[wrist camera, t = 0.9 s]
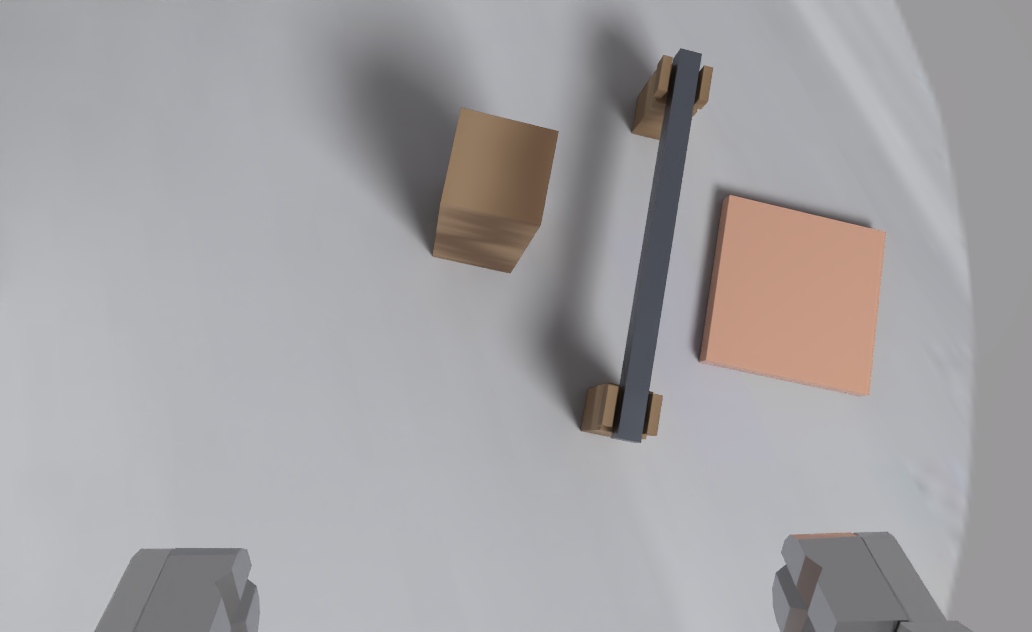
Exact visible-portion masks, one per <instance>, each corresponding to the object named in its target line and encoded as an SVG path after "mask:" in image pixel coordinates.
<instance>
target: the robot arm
mask: <svg viewBox="0 0 1032 632" xmlns="http://www.w3.org/2000/svg"><path fill="white" fill-rule="evenodd" d="M781 553H782V556H783V558H784V560H785V563H786V565H785V566H783V567H782V568H781V569H780V570H779V571H777V572H776V574H775V579H774V583H773V588H772V592H773V608H774V612H775V617H776V621H777V624H778V626H779V629H780V632H973V631H971V630H970V629H968V628H967V627H966V626H964V625H962V624H961V623H959V622H958V621H947V620H946V618H945V617H944V615H943V613H942V612H941V610H940V609H939V607H938V605H937V604H936V602H935V601H934V599H933V598H932V596H931V594H930V593H929V591H928V590H927V588H926V586H925V585H924V583H923V582H922V580H921V578H920V577H919V575H918V574H917V572H916V571H915V569H914V567H913V566H912V564H911V563H910V561H909V559H908V558H907V556H906V555H905V553H904V552H903V550H902V548H901V547H900V545H899V544H898V542H897V540H896V539H895V537H894V536H892V535H891V534H890V533H888V532H863V533H825V534H797V535H789V536H788V537H787V538H786V539H785V541H784V544H783V548H782V551H781ZM251 566H252V565H251V561H250V558H249V554H248V551H247V550H246V549H243V548H175V549H140V550H139V551H138V552H137V553H136V554H135V555H134V556H133V557H132V558H131V560H130V562H129V564H128V566H127V568H126V570H125V572H124V574H123V576H122V578H121V580H120V582H119V584H118V586H117V588H116V590H115V592H114V594H113V596H112V598H111V600H110V602H109V604H108V606H107V608H106V610H105V612H104V614H103V616H102V617H101V619H100V621H99V623H98V625H97V627H96V629H95V631H94V632H258V624H259V615H260V606H259V595H258V591H257V586H256V585H255V584H253V583H252V582H251V581H249V580H248V579H247V578H248V575H249V572H250V569H251Z"/></svg>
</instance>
